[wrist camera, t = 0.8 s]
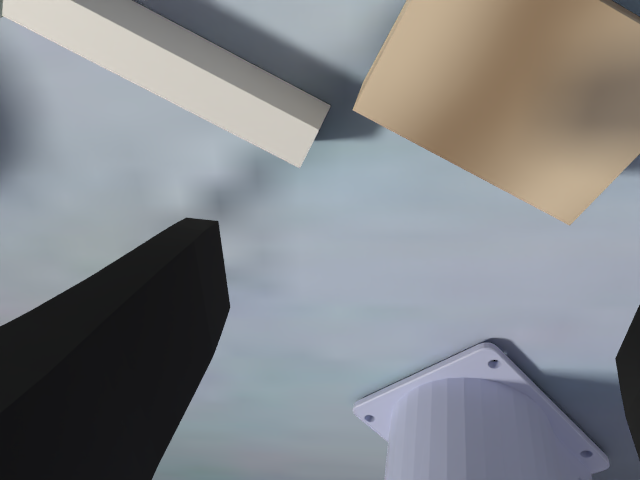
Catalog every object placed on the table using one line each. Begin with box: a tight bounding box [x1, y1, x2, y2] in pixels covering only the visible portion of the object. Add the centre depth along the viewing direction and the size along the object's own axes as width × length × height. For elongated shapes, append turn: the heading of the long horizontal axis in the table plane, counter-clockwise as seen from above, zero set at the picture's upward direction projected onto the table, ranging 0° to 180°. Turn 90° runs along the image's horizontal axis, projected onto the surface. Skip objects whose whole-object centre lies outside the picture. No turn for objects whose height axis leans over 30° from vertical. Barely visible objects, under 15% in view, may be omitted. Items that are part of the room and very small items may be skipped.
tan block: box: [353, 0, 640, 225], centre depth 15 cm, size 7×5×3 cm
